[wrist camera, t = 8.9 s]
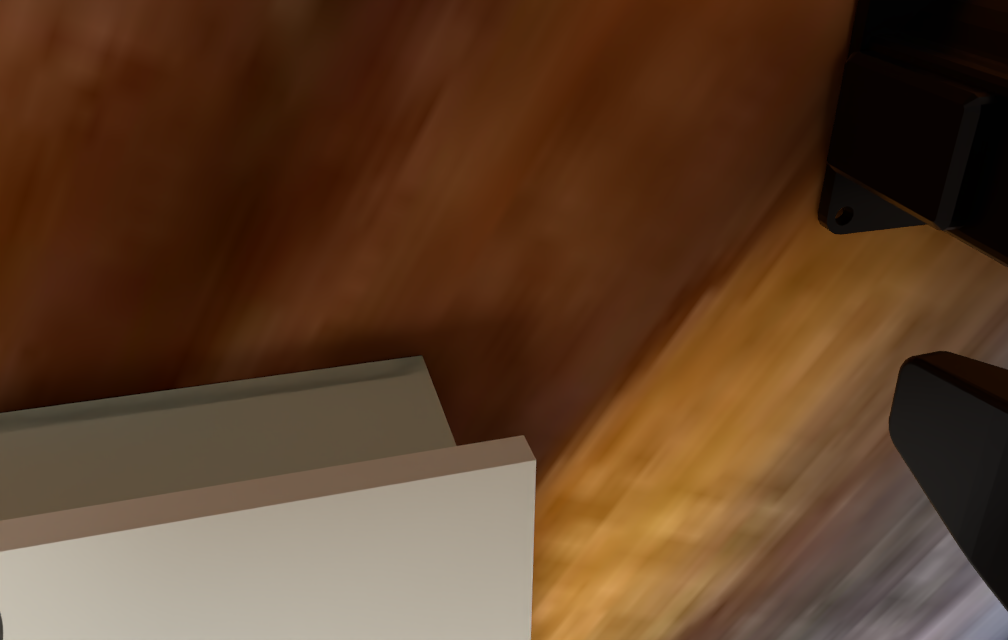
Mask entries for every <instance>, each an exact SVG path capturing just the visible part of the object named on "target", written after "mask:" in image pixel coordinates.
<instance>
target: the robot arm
mask: <svg viewBox="0 0 1008 640" xmlns="http://www.w3.org/2000/svg"><path fill="white" fill-rule="evenodd" d="M841 208H844V211H843V213H842V215H841V216H839V217H838V218H837V219H835V217H836V215H837V212H838V211H839V210H840V209H841ZM818 220H819V222H820V224H821V225H822V226H823V227H825V228H826V229H828V230H829V231H831V232H832V233H834V234H849V233H857V232H866V231H874V230H883V229H891V228H900V227H908V226H917V225H925V224H928V225H930V226H932V227H933V228H935V229H937V230H942V231H944V232H946V233H948V234H950V235H951V236H953V237H955V238H957V239H958V240H960V241H962V242H964V243H965V244H967V245H969V246H971V247H973V248H974V249H976V250H978V251H980V252H981V253H983V254H985V255H987V256H988V257H990V258H992V259H994V260H995V261H997V262H999V263H1001V264H1003V265H1004V266H1006V267H1008V0H858V6H857V11H856V16H855V21H854V26H853V32H852V37H851V42H850V47H849V53H848V58H847V62H846V64H845V68H844V73H843V78H842V84H841V89H840V94H839V99H838V105H837V110H836V115H835V120H834V125H833V131H832V136H831V141H830V146H829V152H828V157H827V168H826V173H825V178H824V183H823V188H822V194H821V199H820V204H819V209H818ZM889 432H890V436H891V439H892V441H893V444H894V445H895V447H896V449H897V450H898V452H899V453H900V455H901V457H902V458H903V460H904V461H905V463H906V464H907V466H908V468H909V469H910V471H911V472H912V474H913V475H914V477H915V478H916V480H917V482H918V483H919V485H920V486H921V488H922V489H923V491H924V493H925V494H926V496H927V497H928V499H929V500H930V502H931V504H932V505H933V507H934V508H935V510H936V511H937V513H938V514H939V516H940V518H941V519H942V521H943V522H944V524H945V525H946V527H947V529H948V530H949V532H950V533H951V535H952V536H953V538H954V540H955V541H956V543H957V544H958V546H959V547H960V549H961V550H962V551H963V553H964V554H965V556H966V557H967V559H968V560H969V562H970V563H971V565H972V566H973V567H974V569H975V570H976V571H977V573H978V574H979V575H980V577H981V578H982V579H983V581H984V582H985V583H986V584H987V586H988V587H989V588H990V590H991V591H992V592H993V593H994V595H995V596H996V597H997V598H998V600H999V601H1000V602H1001V604H1002V605H1003V606H1004V607H1005V609H1006V610H1007V611H1008V370H1007V369H1004V368H1000V367H997V366H994V365H990V364H987V363H984V362H981V361H977V360H974V359H971V358H967V357H964V356H961V355H957V354H954V353H951V352H947V351H937V352H932V353H927V354H921V355H916V356H912V357H910V358H908V359H906V360H905V361H904V363H903V364H902V365H901V367H900V370H899V374H898V379H897V383H896V388H895V393H894V397H893V402H892V407H891V411H890V416H889ZM0 640H3V622H2V617H1V613H0Z"/></svg>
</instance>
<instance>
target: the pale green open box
mask: <svg viewBox="0 0 1008 640" xmlns="http://www.w3.org/2000/svg"><path fill="white" fill-rule="evenodd" d="M454 446H456V443H455V440H454V438H453V435H452V432H451V430H450V427H449V425H448V422H447V419H446V417H445V414H444V411H443V409H442V406H441V404H440V401H439V398H438V396H437V393H436V390H435V388H434V385H433V383H432V380H431V377H430V375H429V372H428V370H427V367H426V364H425V362H424V359H423V356H422V355H421V356H414V357H407V358H400V359H392V360H385V361H378V362H370V363H363V364H356V365H348V366H341V367H334V368H327V369H319V370H312V371H305V372H297V373H290V374H283V375H275V376H268V377H261V378H253V379H246V380H239V381H232V382H224V383H217V384H210V385H202V386H195V387H188V388H180V389H173V390H166V391H159V392H151V393H144V394H137V395H129V396H122V397H115V398H107V399H100V400H93V401H86V402H78V403H71V404H64V405H56V406H49V407H42V408H34V409H27V410H20V411H13V412H5V413H0V521H2V520H8V519H14V518H20V517H26V516H32V515H38V514H44V513H51V512H57V511H63V510H69V509H75V508H81V507H87V506H93V505H100V504H106V503H112V502H118V501H124V500H130V499H136V498H142V497H148V496H155V495H161V494H167V493H173V492H179V491H185V490H191V489H197V488H204V487H210V486H216V485H222V484H228V483H234V482H240V481H246V480H252V479H259V478H265V477H271V476H277V475H283V474H289V473H295V472H301V471H308V470H314V469H320V468H326V467H332V466H338V465H344V464H350V463H356V462H363V461H369V460H375V459H381V458H387V457H393V456H399V455H405V454H411V453H418V452H424V451H430V450H436V449H442V448H448V447H454Z"/></svg>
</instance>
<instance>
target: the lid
mask: <svg viewBox="0 0 1008 640" xmlns="http://www.w3.org/2000/svg"><path fill="white" fill-rule="evenodd" d="M535 484H536V459H535V457H534V455H533V453H532V451H531V449H530V447H529V445H528V443H527V441H526V439H525V437H524V435H522V436H515V437H509V438H503V439H497V440H491V441H485V442H479V443H473V444H467V445H460V446H454V447H448V448H442V449H436V450H430V451H424V452H418V453H411V454H405V455H399V456H393V457H387V458H381V459H375V460H369V461H363V462H356V463H350V464H344V465H338V466H332V467H326V468H320V469H314V470H308V471H301V472H295V473H289V474H283V475H277V476H271V477H265V478H259V479H252V480H246V481H240V482H234V483H228V484H222V485H216V486H210V487H204V488H197V489H191V490H185V491H179V492H173V493H167V494H161V495H155V496H148V497H142V498H136V499H130V500H124V501H118V502H112V503H106V504H100V505H93V506H87V507H81V508H75V509H69V510H63V511H57V512H51V513H44V514H38V515H32V516H26V517H20V518H14V519H8V520H2V521H0V613H1V617H2V622H3V640H531V616H532V583H533V550H534V517H535Z"/></svg>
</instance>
